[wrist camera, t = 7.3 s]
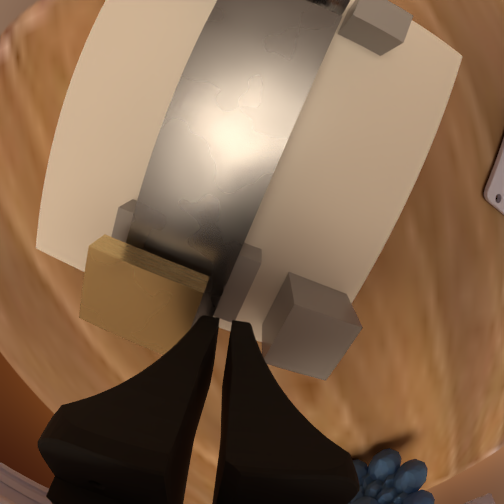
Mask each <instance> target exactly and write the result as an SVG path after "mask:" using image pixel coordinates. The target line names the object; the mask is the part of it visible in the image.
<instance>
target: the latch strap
mask: <svg viewBox="0 0 504 504" xmlns="http://www.w3.org/2000/svg"><path fill="white" fill-rule="evenodd" d="M349 2H350V0H217V2H216V4H215V6H214V8H213V9H212V11H211V13H210V15H209V17H208V19H207V21H206V23H205V25H204V27H203V29H202V31H201V33H200V35H199V37H198V39H197V42H196V44H195V46H194V48H193V50H192V52H191V55H190V57H189V59H188V61H187V63H186V66H185V68H184V70H183V73H182V75H181V77H180V80H179V82H178V85H177V87H176V89H175V92H174V94H173V97H172V99H171V102H170V104H169V107H168V110H167V112H166V115H165V117H164V120H163V123H162V126H161V128H160V131H159V134H158V137H157V140H156V142H155V145H154V148H153V151H152V154H151V157H150V160H149V163H148V166H147V170H146V173H145V176H144V179H143V182H142V186H141V189H140V192H139V196H138V199H137V203H136V206H135V210H134V214H133V217H132V221H131V225H130V229H129V233H128V237H127V241H126V243H127V244H130V245H132V246H134V247H137V248H139V249H142V250H144V251H147V252H149V253H151V254H154V255H156V256H159V257H161V258H164V259H166V260H169V261H171V262H174V263H176V264H179V265H181V266H184V267H187V268H189V269H192V270H194V271H197V272H199V273H202V274H204V275H207V276H210V277H209V280H208V283H207V285H206V288H205V291H204V294H203V297H202V299H201V302H200V305H199V307H198V310H197V313H196V315H195V318H194V320H193V323H192V326H193V325H194V324H195V323H196V321H197V320H198V319H199V317H201V316H202V315H205V316H211V317H213V315H214V313H215V311H216V308H217V306H218V303H219V301H220V299H221V296H222V294H223V291H224V289H225V287H226V284H227V282H228V279H229V277H230V275H231V272H232V270H233V268H234V265H235V263H236V260H237V258H238V256H239V253H240V251H241V249H242V246H243V244H244V241H245V239H246V237H247V234H248V232H249V230H250V227H251V225H252V223H253V220H254V218H255V215H256V213H257V211H258V208H259V206H260V204H261V201H262V199H263V197H264V194H265V192H266V190H267V187H268V185H269V183H270V180H271V178H272V176H273V173H274V171H275V169H276V166H277V164H278V162H279V159H280V157H281V155H282V153H283V150H284V148H285V146H286V143H287V141H288V139H289V136H290V134H291V132H292V129H293V127H294V125H295V123H296V120H297V118H298V116H299V113H300V111H301V109H302V107H303V104H304V102H305V100H306V97H307V95H308V93H309V91H310V88H311V86H312V84H313V82H314V79H315V77H316V75H317V72H318V70H319V68H320V66H321V63H322V61H323V59H324V57H325V54H326V52H327V50H328V48H329V45H330V43H331V41H332V39H333V36H334V34H335V32H336V30H337V28H338V25H339V23H340V21H341V19H342V16H341V15H342V14H343V12H344V11H345V9H346V7H347V5H348V4H349ZM192 326H191V328H192Z"/></svg>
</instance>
